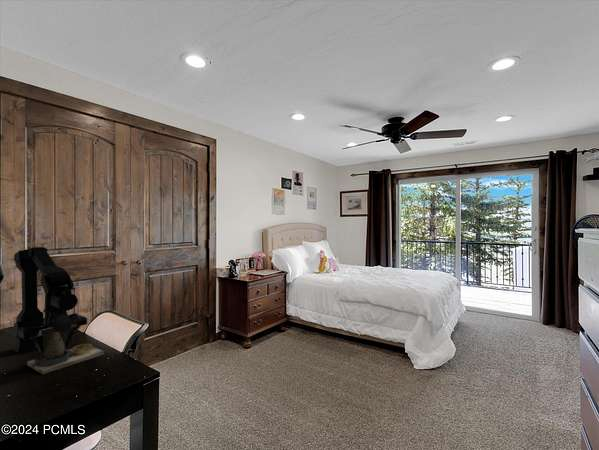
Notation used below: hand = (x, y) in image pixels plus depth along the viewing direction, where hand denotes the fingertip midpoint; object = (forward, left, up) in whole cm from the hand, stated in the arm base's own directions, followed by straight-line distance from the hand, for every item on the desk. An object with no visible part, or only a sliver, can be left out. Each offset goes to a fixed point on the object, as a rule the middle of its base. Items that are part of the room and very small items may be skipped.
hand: (54, 350), depth 108 cm
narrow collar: (0, +9, -5) cm, 10 cm away
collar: (0, 0, -5) cm, 5 cm away
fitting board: (0, +4, -5) cm, 6 cm away
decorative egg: (0, 0, -4) cm, 4 cm away
